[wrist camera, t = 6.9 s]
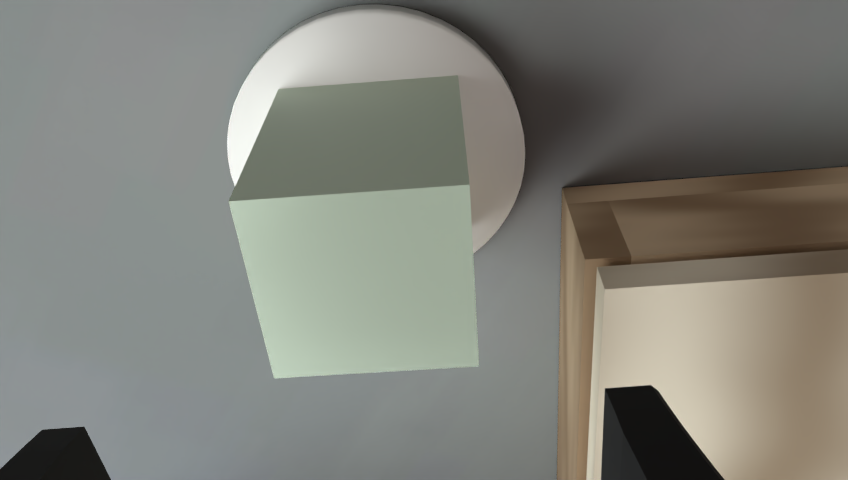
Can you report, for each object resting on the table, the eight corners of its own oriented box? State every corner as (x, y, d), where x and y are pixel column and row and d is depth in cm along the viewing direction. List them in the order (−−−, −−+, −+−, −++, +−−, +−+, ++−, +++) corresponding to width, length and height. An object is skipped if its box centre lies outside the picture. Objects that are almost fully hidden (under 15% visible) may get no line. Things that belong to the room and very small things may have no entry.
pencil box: (555, 531, 26) (570, 618, 24) (562, 188, 19) (585, 259, 16) (784, 518, 26) (826, 606, 23) (885, 163, 18) (964, 232, 16)
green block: (308, 238, 19) (274, 378, 14) (278, 88, 16) (228, 202, 12) (466, 228, 18) (478, 365, 14) (458, 75, 16) (469, 184, 12)
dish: (266, 274, 20) (261, 291, 20) (203, 18, 16) (193, 29, 16) (523, 255, 20) (526, 273, 19) (519, -10, 16) (522, 0, 15)
